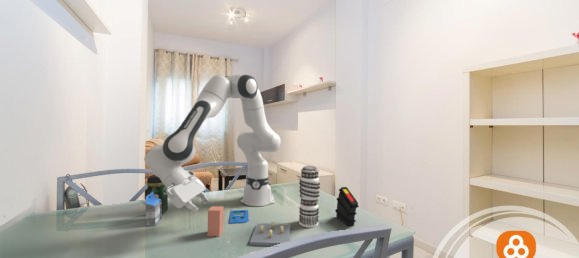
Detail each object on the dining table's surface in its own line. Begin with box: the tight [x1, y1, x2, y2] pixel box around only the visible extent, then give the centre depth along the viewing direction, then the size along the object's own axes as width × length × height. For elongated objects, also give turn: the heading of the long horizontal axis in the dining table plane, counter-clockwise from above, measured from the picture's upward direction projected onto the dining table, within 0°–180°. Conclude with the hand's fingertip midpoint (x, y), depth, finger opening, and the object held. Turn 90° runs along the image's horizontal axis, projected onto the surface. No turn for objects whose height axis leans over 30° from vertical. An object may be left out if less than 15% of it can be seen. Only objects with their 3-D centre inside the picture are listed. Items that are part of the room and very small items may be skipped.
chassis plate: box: [249, 221, 291, 247], centre depth 94 cm, size 16×14×4 cm
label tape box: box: [145, 191, 163, 227], centre depth 105 cm, size 9×4×12 cm, turn 12°
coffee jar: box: [146, 174, 169, 215], centre depth 116 cm, size 10×8×19 cm
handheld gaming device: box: [228, 209, 249, 225], centre depth 113 cm, size 8×1×15 cm
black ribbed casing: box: [335, 186, 360, 227], centre depth 109 cm, size 4×13×15 cm, turn 18°
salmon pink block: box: [207, 205, 224, 238], centre depth 95 cm, size 5×5×10 cm
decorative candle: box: [298, 165, 321, 228], centre depth 106 cm, size 9×9×25 cm
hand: (202, 206), depth 95 cm, fingers open, 8 cm apart
